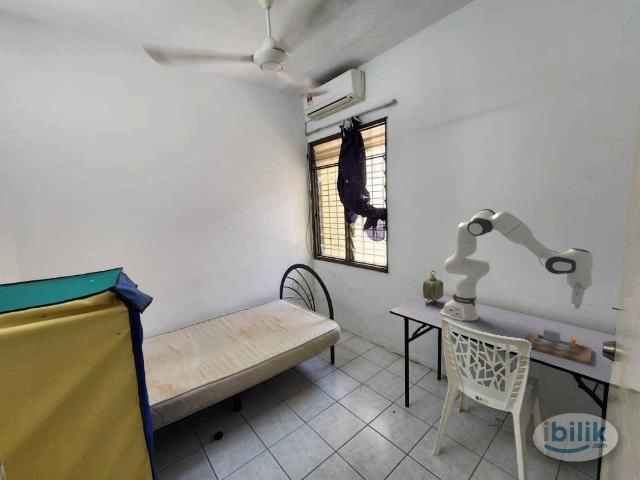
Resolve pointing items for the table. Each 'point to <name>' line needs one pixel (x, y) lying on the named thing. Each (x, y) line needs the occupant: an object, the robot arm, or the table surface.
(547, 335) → the module
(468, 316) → the robot arm
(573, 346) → the latch gate
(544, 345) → the rail base
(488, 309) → the table surface
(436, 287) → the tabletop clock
